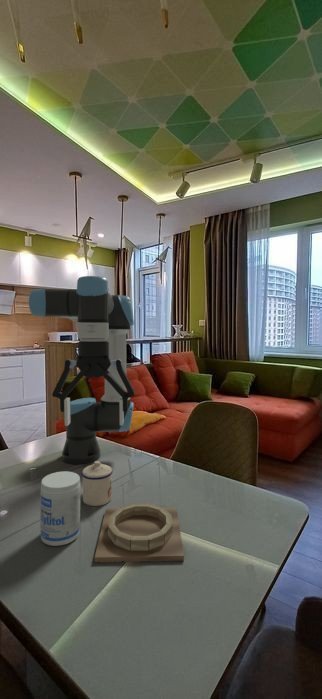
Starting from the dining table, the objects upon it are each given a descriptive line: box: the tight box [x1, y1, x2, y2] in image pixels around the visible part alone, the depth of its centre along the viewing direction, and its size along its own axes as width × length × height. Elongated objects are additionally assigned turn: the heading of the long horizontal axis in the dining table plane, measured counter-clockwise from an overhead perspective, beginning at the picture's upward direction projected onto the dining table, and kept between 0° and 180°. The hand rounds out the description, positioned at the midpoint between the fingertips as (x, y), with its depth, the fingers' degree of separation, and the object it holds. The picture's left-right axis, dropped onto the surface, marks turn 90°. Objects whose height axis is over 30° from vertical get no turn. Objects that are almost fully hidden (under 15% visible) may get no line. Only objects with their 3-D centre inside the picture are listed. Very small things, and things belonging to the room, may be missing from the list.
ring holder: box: [94, 502, 185, 563], centre depth 85 cm, size 20×20×4 cm
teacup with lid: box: [81, 460, 113, 507], centre depth 103 cm, size 12×9×12 cm
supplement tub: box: [39, 470, 81, 547], centre depth 84 cm, size 10×10×15 cm
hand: (94, 424), depth 84 cm, fingers open, 13 cm apart
